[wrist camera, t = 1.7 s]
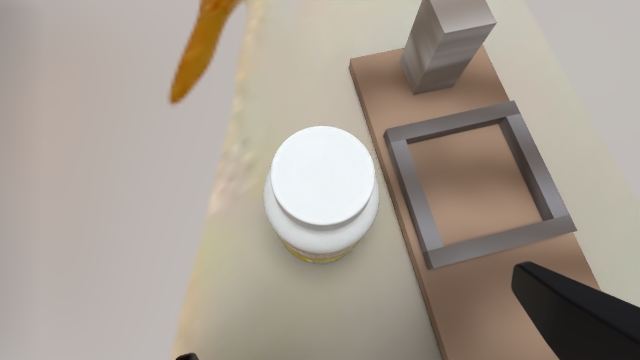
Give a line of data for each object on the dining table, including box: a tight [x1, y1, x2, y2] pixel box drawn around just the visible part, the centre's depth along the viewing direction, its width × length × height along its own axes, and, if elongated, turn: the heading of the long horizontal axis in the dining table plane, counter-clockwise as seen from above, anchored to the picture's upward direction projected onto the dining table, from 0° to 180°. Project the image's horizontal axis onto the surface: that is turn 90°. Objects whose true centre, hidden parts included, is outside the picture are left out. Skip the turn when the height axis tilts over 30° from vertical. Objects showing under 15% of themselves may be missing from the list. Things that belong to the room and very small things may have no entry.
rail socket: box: [349, 0, 601, 360], centre depth 19 cm, size 22×10×7 cm, turn 14°
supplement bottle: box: [263, 126, 379, 264], centre depth 17 cm, size 5×5×10 cm
